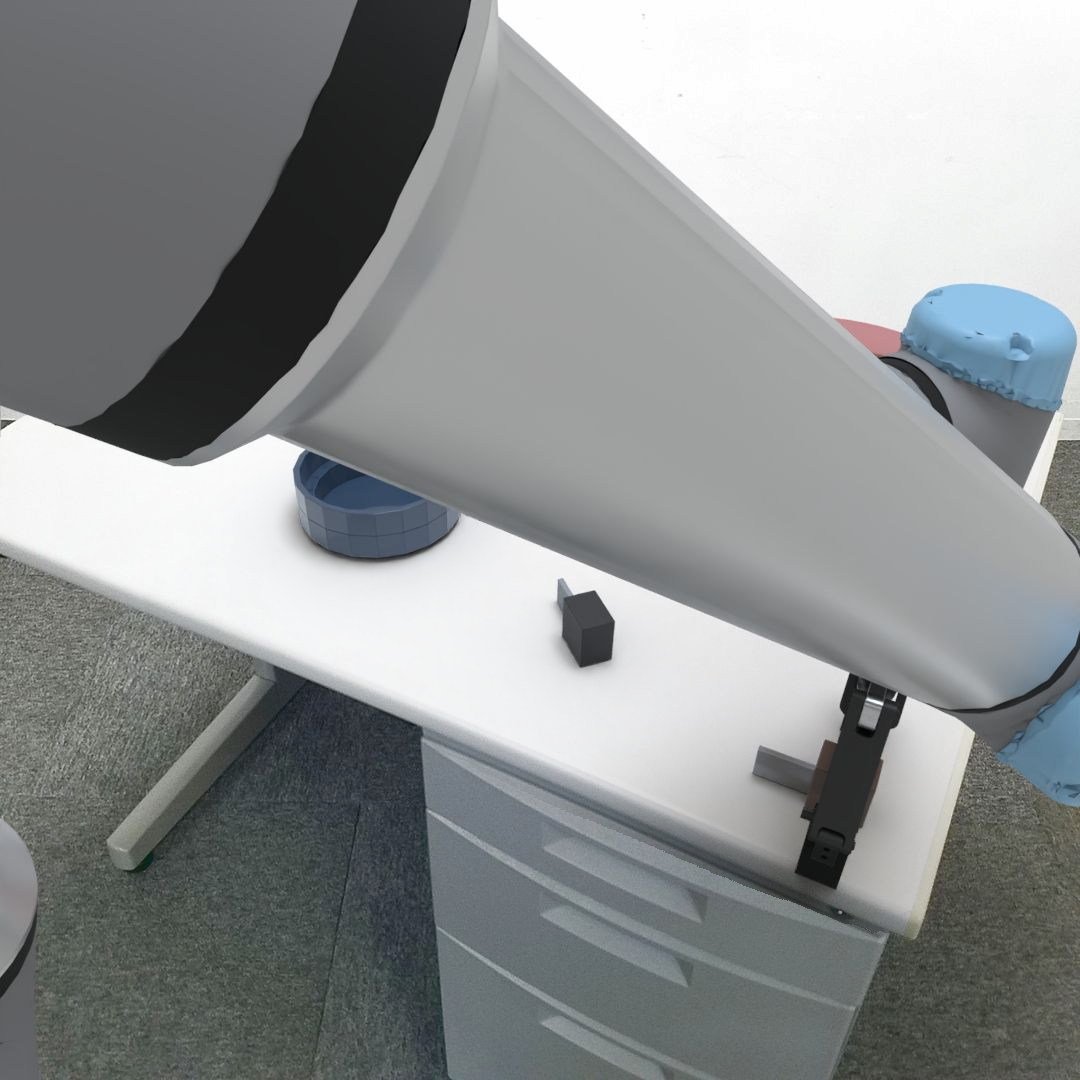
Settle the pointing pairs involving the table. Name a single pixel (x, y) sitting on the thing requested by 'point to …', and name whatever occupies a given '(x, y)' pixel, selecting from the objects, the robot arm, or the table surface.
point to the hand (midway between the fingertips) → (839, 800)
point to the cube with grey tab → (586, 625)
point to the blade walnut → (804, 773)
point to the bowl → (363, 511)
